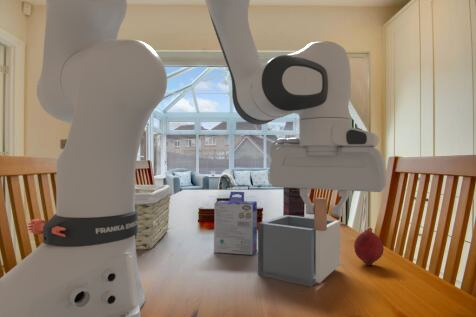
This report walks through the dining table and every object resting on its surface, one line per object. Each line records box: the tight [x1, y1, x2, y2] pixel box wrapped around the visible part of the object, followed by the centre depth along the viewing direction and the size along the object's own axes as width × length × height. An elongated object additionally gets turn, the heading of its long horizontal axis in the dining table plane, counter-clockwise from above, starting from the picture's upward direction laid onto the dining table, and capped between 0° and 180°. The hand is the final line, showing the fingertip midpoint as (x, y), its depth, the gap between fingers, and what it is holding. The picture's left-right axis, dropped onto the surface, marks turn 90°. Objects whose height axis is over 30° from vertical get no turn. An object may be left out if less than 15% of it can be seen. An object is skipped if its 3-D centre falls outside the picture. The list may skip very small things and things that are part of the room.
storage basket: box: [135, 184, 172, 251], centre depth 92 cm, size 24×16×15 cm
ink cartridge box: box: [213, 191, 258, 256], centre depth 81 cm, size 10×6×14 cm, turn 77°
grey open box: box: [257, 215, 335, 288], centre depth 66 cm, size 12×11×10 cm
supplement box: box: [282, 187, 306, 217], centre depth 98 cm, size 9×5×16 cm, turn 4°
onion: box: [353, 227, 385, 266], centre depth 71 cm, size 6×6×8 cm
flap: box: [313, 197, 341, 284], centre depth 63 cm, size 12×2×14 cm, turn 147°
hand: (324, 215), depth 59 cm, fingers open, 3 cm apart
